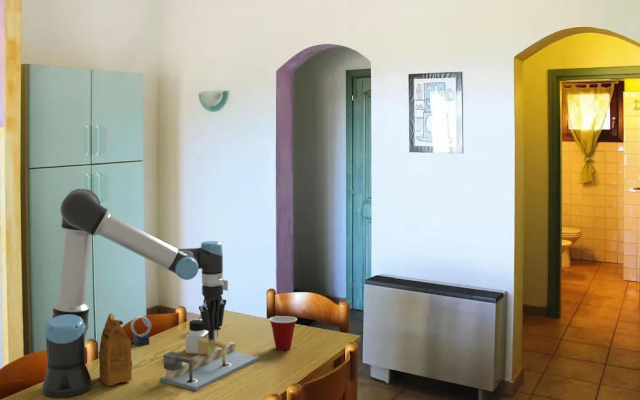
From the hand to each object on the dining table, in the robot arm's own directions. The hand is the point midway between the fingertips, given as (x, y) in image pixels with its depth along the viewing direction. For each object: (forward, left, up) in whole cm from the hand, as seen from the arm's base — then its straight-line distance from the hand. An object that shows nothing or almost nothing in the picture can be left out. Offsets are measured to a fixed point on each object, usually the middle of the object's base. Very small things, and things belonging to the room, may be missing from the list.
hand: (213, 347), depth 246 cm
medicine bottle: (+6, +13, -6) cm, 15 cm away
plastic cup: (+26, -13, -6) cm, 30 cm away
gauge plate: (-7, -5, -5) cm, 10 cm away
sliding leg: (-4, -3, -4) cm, 6 cm away
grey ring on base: (+1, +38, -6) cm, 38 cm away
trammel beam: (-6, -3, -4) cm, 8 cm away
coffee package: (-31, +17, -6) cm, 36 cm away
